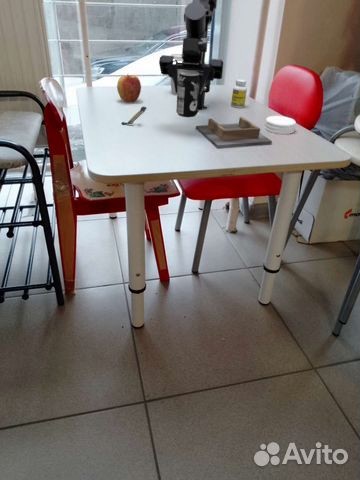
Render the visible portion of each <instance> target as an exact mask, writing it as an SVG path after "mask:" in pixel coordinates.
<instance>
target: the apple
mask: <svg viewBox="0 0 360 480" xmlns="http://www.w3.org/2000/svg"><path fill="white" fill-rule="evenodd" d="M141 84H142V83H141V80H140V78H139V77H138V76H137V75H133V74H132V75H131V74H130V75H129V73H127V75H122V76H120V77H119V79H118V80H117V83H116V88H117V89H116V90H117V92H118V93H117V94H118V96H119V98H120V99H121V101H123V102H124V103H135V102H136V101H137V100H138V99H139V97H140V95H141V92H142V85H141Z"/></svg>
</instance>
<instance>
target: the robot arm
mask: <svg viewBox="0 0 360 480" xmlns="http://www.w3.org/2000/svg"><path fill="white" fill-rule="evenodd" d="M217 6H218V0H192V2H190V3H188V4H187V5H186V7H185V8H184V13H183V22H184V23H185V24H184V25H185V31H186V36H185V38H183V39H182V48H181V51H182V52H181V54H182V59H183V62H181V61H177V60H174V56H171V55H167V54H162V55H161V56H159V61H158V65H159V69H160V70H159V71H160V74H162V76H163V75H167V76H168V77H169V78H170V79H171V78H172V79H173V82H174V86H175V92H176V93H177V84H178V69H184V70H188V71H196V72H198V73H199V77H200V88H199V103H198V111H199V110H204V109H207V108H208V106H206V105H205V100H206V99H205V98H206V94H208V93H209V92H210V90H211V82H212V81H214V80H215V79H216V80H221V79H222V78H223V71H224V61H223V59H219V58H218V59H216V58H210V60H209V64H208V63H206V61H205V60H206V53H207V50H208V41H209V40H208V39H209V38H208V34H209V33H208V32H209V26H210V25H211V23H212V21H213V17H214V14H215V10H216V9H217V8H218V7H217Z"/></svg>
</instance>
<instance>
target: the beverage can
mask: <svg viewBox="0 0 360 480" xmlns="http://www.w3.org/2000/svg"><path fill="white" fill-rule="evenodd" d="M179 73H180V74H179V76H178V84H177V95H176V110H175V111H176V113H177V115H178V116H179V117H181V118H194V117H196V116H197V115H198V113H199V110H198V103H199V88H200V77H199V73H198V72H196V71H180V72H179Z"/></svg>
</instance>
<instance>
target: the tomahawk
mask: <svg viewBox="0 0 360 480" xmlns="http://www.w3.org/2000/svg"><path fill="white" fill-rule="evenodd" d="M145 110H147V106H141V108H140V109H139V111H138V112H136V113H135V115H133V116H132V117H131V118H130V119H129V120H128V122H124V121H122V122H121V123H120V124H121V125H122V126H127V127H128V126H129V127H134V126H135V125H137V124H136V123H135V120H137V119H138V118H139V117H140V116H141V115H142V114H144V112H145Z"/></svg>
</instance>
